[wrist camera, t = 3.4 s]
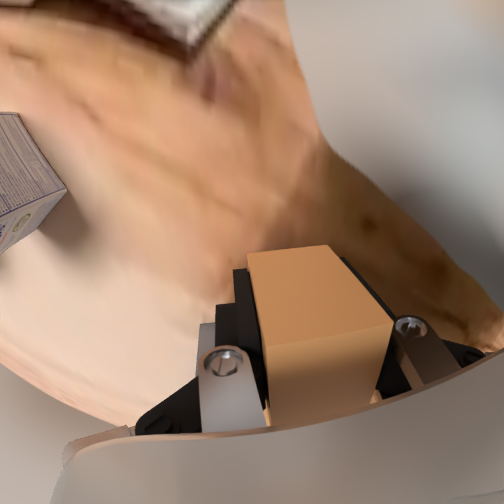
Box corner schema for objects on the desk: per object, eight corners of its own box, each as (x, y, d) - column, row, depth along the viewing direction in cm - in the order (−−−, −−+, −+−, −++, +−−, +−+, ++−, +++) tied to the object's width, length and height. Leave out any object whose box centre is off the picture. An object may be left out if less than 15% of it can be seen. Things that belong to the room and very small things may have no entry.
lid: (140, 264, 10) (91, 355, 5) (411, 235, 11) (493, 291, 6) (226, 488, 19) (229, 532, 14) (343, 469, 20) (356, 510, 15)
